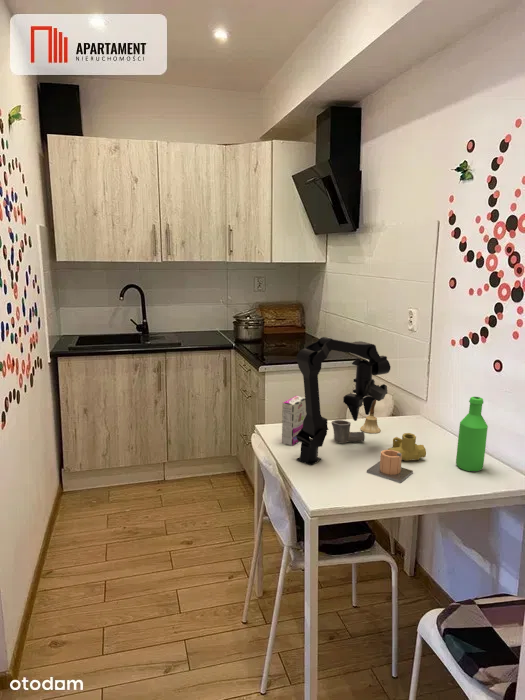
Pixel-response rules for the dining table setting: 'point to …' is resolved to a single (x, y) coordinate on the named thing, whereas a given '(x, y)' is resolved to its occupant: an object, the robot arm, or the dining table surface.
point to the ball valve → (408, 447)
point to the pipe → (345, 432)
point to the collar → (390, 462)
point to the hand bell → (371, 422)
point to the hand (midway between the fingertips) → (361, 417)
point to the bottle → (472, 438)
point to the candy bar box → (292, 419)
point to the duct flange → (397, 477)
